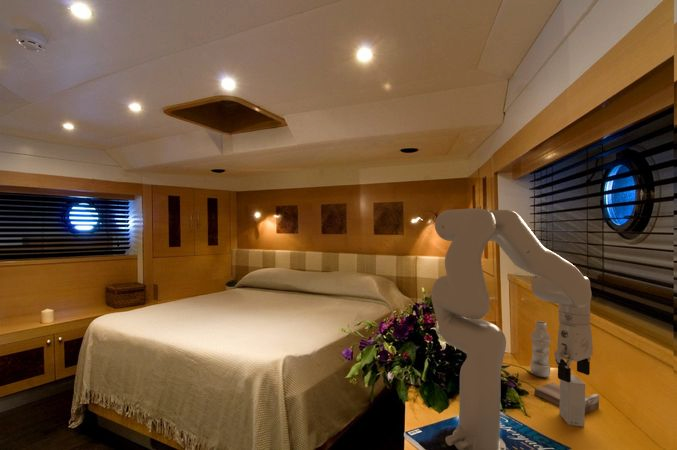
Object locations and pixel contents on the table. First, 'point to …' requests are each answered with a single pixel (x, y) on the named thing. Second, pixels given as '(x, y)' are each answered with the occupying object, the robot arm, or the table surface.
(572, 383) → the skincare box
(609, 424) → the table surface
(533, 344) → the plastic bottle
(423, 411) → the table surface
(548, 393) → the shelf board
